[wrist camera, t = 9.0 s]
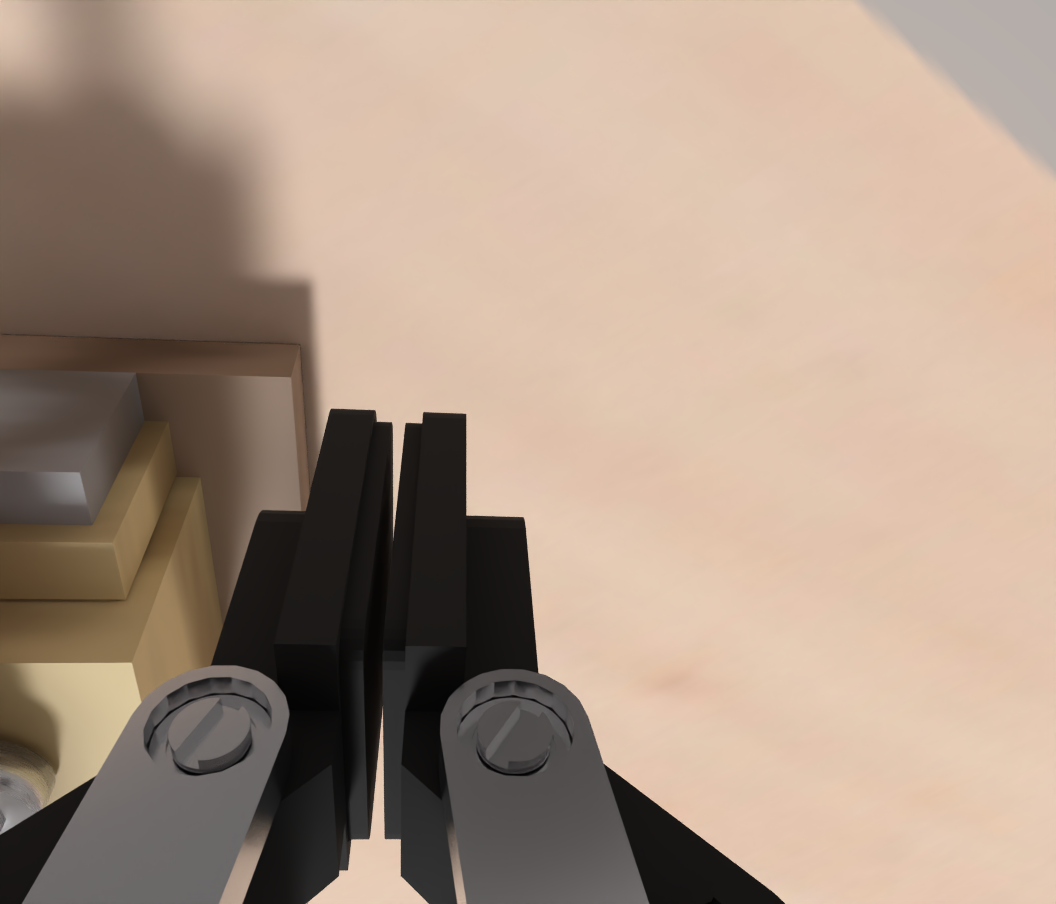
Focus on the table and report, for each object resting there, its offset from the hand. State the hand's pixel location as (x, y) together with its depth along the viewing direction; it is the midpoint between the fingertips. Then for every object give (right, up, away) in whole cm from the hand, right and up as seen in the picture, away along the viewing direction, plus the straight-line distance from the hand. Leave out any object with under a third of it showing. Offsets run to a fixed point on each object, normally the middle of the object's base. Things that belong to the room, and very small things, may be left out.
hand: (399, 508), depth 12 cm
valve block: (-9, -1, +12) cm, 15 cm away
